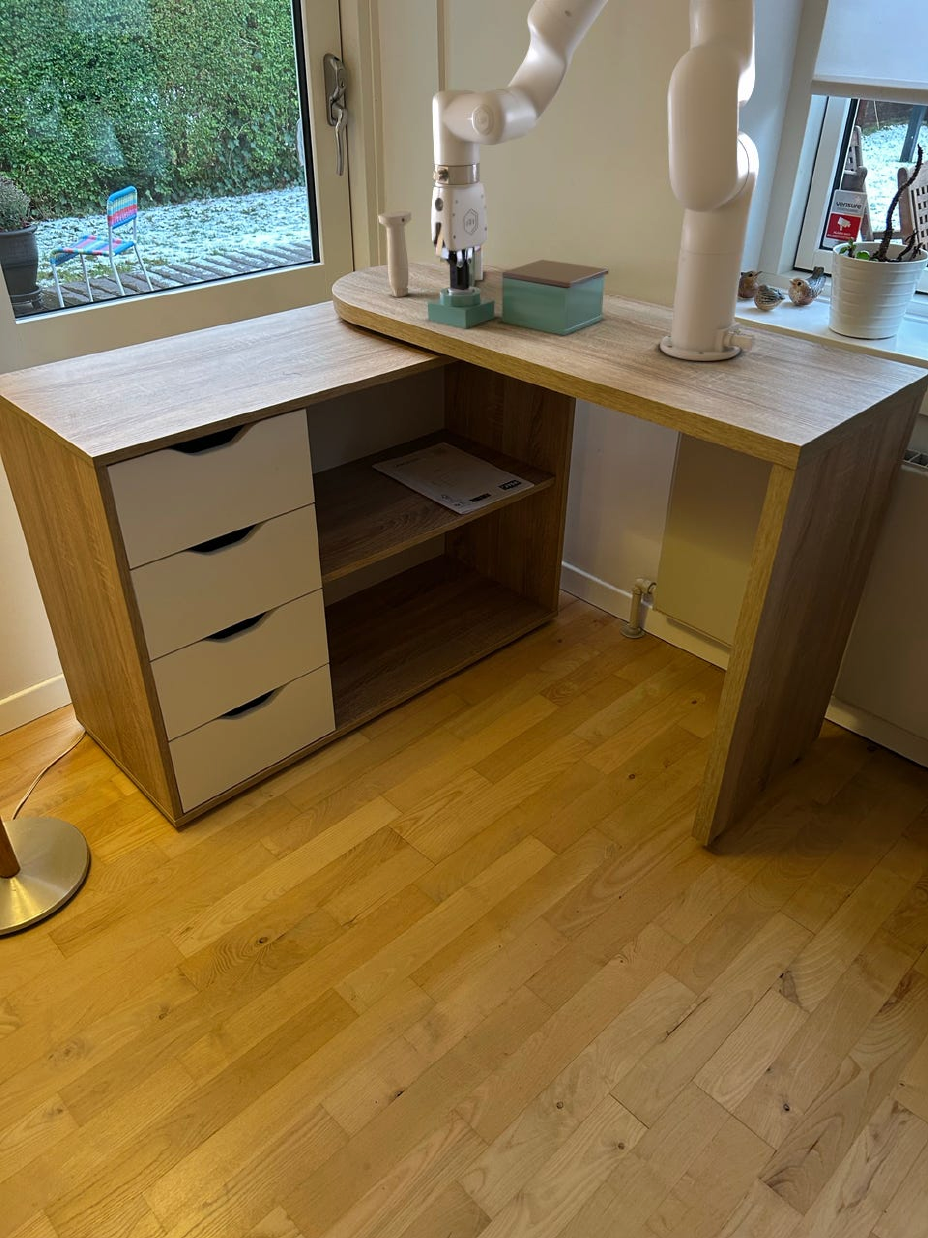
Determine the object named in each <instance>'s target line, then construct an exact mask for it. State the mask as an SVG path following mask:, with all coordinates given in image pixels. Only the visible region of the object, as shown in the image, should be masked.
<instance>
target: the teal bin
mask: <svg viewBox="0 0 928 1238" xmlns="http://www.w3.org/2000/svg"><path fill="white" fill-rule="evenodd" d="M501 279H502V280H501V282H502V283H501V284H502V285H501V291H502V292H501V294H502V295H501V299H502V300H501V302H502V303H501V304H502V305H501V306H502V307H501V308H502V309H501V311H502V313H501V314H502V315H501V316H502V321H501V323H505V324H511V325H514V326H519V327H523V328H524V327H525V328H528V329H534V330H539V331H542V332H548V333H552V334H556V335H560V336H566V335H569V334H571V333H573V332H576V331H579V330H580V329H583V328H585V327H586V328H587V327H588V326H590V325H592V324H595V323H598V322H600V321H602V319H603V307H604V305H603V304H604V291H605V289H604V287H605V275H604V276H601V277H598V278H596V279H593V280H590V281H587V282H584V283H582V284H579V285H576V286H573V287H570V288H568V287H562V286H556V285H550V284H544V283H538V282H531V281H525V280H519V279H513V278H507V277H502V278H501Z"/></svg>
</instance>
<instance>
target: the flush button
mask: <svg viewBox="0 0 928 1238" xmlns="http://www.w3.org/2000/svg"><path fill="white" fill-rule="evenodd" d="M449 287H450V286H449ZM473 287H474V286H473ZM473 287H471V286H469V288H468V289H465V290H458V289H453V288H451V287H450V288H449V289H448V293H449V294H454V295H464V294H470V293H473Z"/></svg>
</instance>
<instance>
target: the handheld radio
mask: <svg viewBox="0 0 928 1238" xmlns="http://www.w3.org/2000/svg"><path fill="white" fill-rule="evenodd" d="M475 281H476V280H475V251H474V253H473V255H472V262H471V264H470V265H469V286H471V287H475V286H474V285H475Z"/></svg>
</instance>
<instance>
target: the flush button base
mask: <svg viewBox="0 0 928 1238" xmlns="http://www.w3.org/2000/svg"><path fill="white" fill-rule="evenodd" d="M449 288H450V286H449V287H445V288H442V289H441V290H440V291H439V298H437V299H434V300H431V301H428V302H427V315H428V317H427V318H428V321H431V322H436V323H440V324H445V325H448V326H452V327H453V326H454V327H456V328H457V327H458V328H462V329H468V328H472V327H473V326H476V325H479V324H482V323H485V322H487V321H491V320H493V319H495V300H494V299H490V298H483V295H482V293H483V292H482V289H481V288H479V287H476V286H473V293H470V294H464V295H454V294H449V293H448V289H449Z"/></svg>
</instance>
